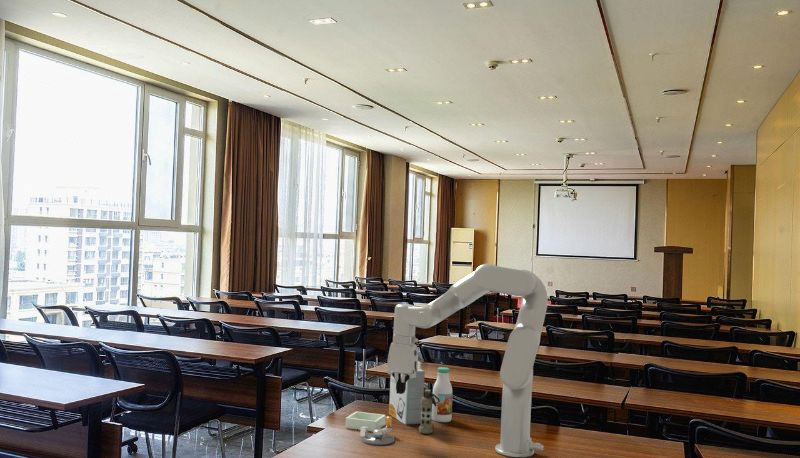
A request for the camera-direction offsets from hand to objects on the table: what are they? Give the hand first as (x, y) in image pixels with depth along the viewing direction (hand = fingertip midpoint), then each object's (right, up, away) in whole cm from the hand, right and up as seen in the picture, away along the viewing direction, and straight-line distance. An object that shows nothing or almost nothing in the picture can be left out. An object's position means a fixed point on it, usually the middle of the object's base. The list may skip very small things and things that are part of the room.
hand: (400, 393), depth 230 cm
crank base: (-8, -15, -5) cm, 18 cm away
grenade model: (+10, -16, +8) cm, 21 cm away
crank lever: (-6, -14, -2) cm, 15 cm away
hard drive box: (+2, -17, +25) cm, 30 cm away
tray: (-13, -15, +12) cm, 23 cm away
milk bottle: (+16, -17, +26) cm, 35 cm away
